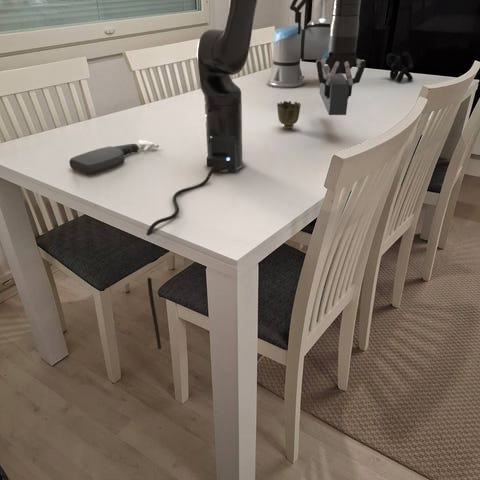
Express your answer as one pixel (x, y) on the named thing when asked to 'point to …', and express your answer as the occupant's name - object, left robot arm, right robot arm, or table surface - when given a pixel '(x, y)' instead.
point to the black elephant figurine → (399, 66)
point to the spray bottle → (106, 157)
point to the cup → (288, 114)
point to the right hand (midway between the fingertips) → (319, 33)
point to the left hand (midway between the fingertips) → (337, 97)
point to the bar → (335, 93)
